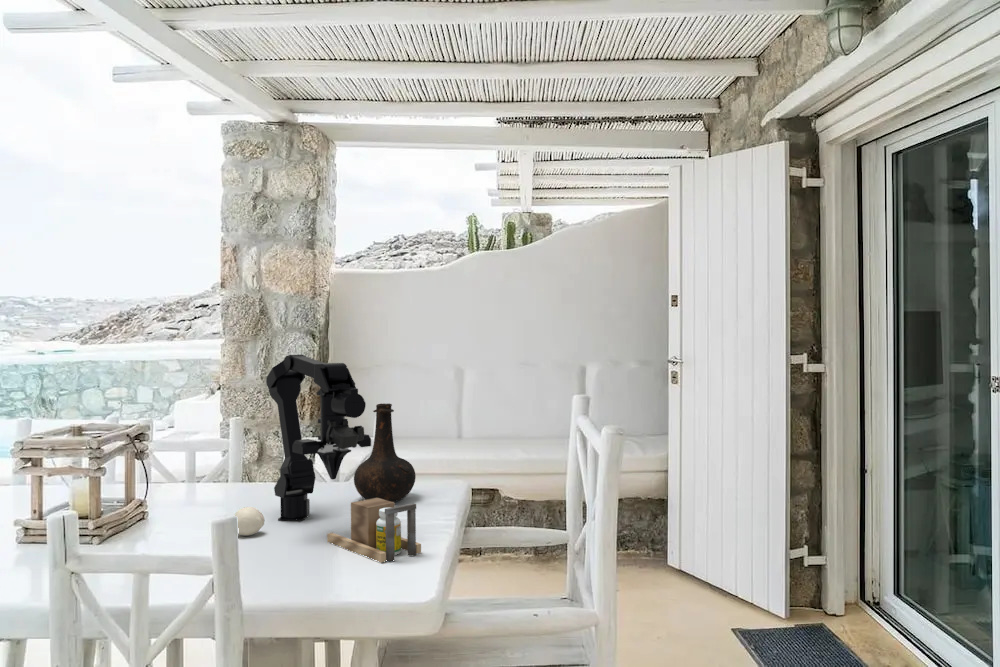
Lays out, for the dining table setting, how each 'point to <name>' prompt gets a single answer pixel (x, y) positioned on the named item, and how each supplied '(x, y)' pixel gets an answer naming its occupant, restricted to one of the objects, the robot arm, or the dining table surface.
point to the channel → (389, 555)
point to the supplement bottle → (382, 532)
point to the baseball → (249, 520)
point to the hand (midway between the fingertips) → (333, 479)
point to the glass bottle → (384, 464)
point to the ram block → (366, 519)
